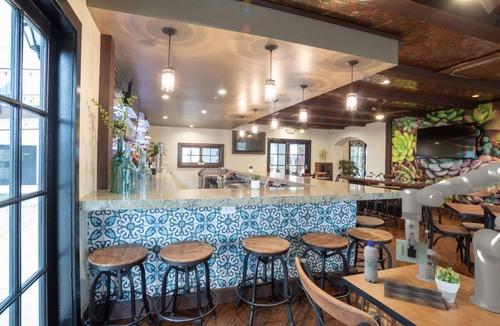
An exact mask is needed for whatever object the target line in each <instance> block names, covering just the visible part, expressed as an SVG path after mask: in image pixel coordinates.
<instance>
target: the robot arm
mask: <svg viewBox="0 0 500 326" xmlns="http://www.w3.org/2000/svg"><path fill="white" fill-rule="evenodd" d="M499 184H500V161H499V162H492V163H489V164H486V165H483V166H481V167H478V168H476V169H473V170H472V171H469V172H466V173H463V174H460V175H458V176H455V177H451V178H447V179H445V180H441V181H439V182H436V183H433V184H431V185H428V186H426V187H425V186H424V187H423V188H422V189H417V188H404V189H402V193H401V195H402V196H401V204H402V205H401V219H403V220H404V228H405V229H404V231H405V239H406V241H407V242H408V248H407V256H408V257H412V258H416V249H415V242H417V243H419V242H420V222H421V221H422V216H423V215H422V208H423V206H424V207H425V206H427V207H431V208H438V207H440V206H441V207H442V205H443V204H444V203H445V200H446V198H447V197H452V196H456V195H457V196H459V195H470V194H475V193H478V192H480V191H482V190H485V189H488V188H491V187H495V186H497V185H499ZM494 225H495V226H496V228H497V229H498V230H500V213H499V214H498V215H496V217H495V218H494ZM409 243H410V244H409ZM472 247H473V253H474V254H473V255H474V276H473V277H474V279H473V280H474V283H473V284H474V289H473V290H474V291H473V292H474V294H472V295H470V296H469V301H470V302H471V303H472V304H473V305H475V306H477V307H478V308H481V309H483V310H486V311H488V312H493V313H498V314H500V231H499V232H498V231H496V230H493V229H490V228H480V229H478V230H476V231H475V232H474V233H473V236H472Z"/></svg>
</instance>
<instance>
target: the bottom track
mask: <svg viewBox="0 0 500 326" xmlns="http://www.w3.org/2000/svg"><path fill="white" fill-rule="evenodd" d="M383 283H384V285H383V296H384V298H389V299H393V300H396V301H401V302H406V303H409V304H414V305H419V306H424V307H428V308H432V309H436V310H441V311H446V310H447V309H446V308H447V307H446V305H445V301H446V300H445V298H444V297H443V293H441V292H442V291H441V292H439V291H440V290H436V289H430V288H425V287H421V286H415V285H410V284H405V283H401V282H395V281H390V280H387V279H386V280H384V281H383Z"/></svg>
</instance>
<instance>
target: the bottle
mask: <svg viewBox="0 0 500 326" xmlns="http://www.w3.org/2000/svg"><path fill="white" fill-rule="evenodd" d="M363 256H364V271H363V276H364V277H363V278H364V279H365V281H367V282H369V283H370V281H371V283H372V284H373V283H377V281H378V279H379V271H378V267H379V266H378V263H379V262H378V259H379V249H378V247H376V243H375V241H373V240H372V241H371V240H369V241H367V245H366V246H364V249H363Z"/></svg>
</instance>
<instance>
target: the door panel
mask: <svg viewBox="0 0 500 326" xmlns="http://www.w3.org/2000/svg"><path fill="white" fill-rule="evenodd" d="M409 244H410V243H409ZM407 248H408V242H407V241H406V240H405V239H401V238H400V239H399V238H395V260H396V261H402V262H407V263H411V264H412V263H413V264H417V265H418V264H423V265H427V242H421V241H419V243H417V242H416V241H415V249H416V258H412V257H408V256H407Z"/></svg>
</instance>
